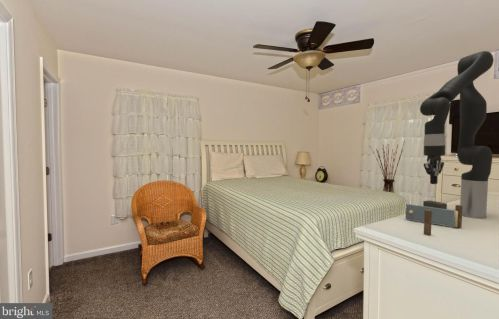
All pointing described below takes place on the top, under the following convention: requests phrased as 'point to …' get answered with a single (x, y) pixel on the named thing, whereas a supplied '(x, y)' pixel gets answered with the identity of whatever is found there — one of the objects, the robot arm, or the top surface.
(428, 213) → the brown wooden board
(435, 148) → the robot arm
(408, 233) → the top surface
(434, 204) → the block
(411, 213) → the door
